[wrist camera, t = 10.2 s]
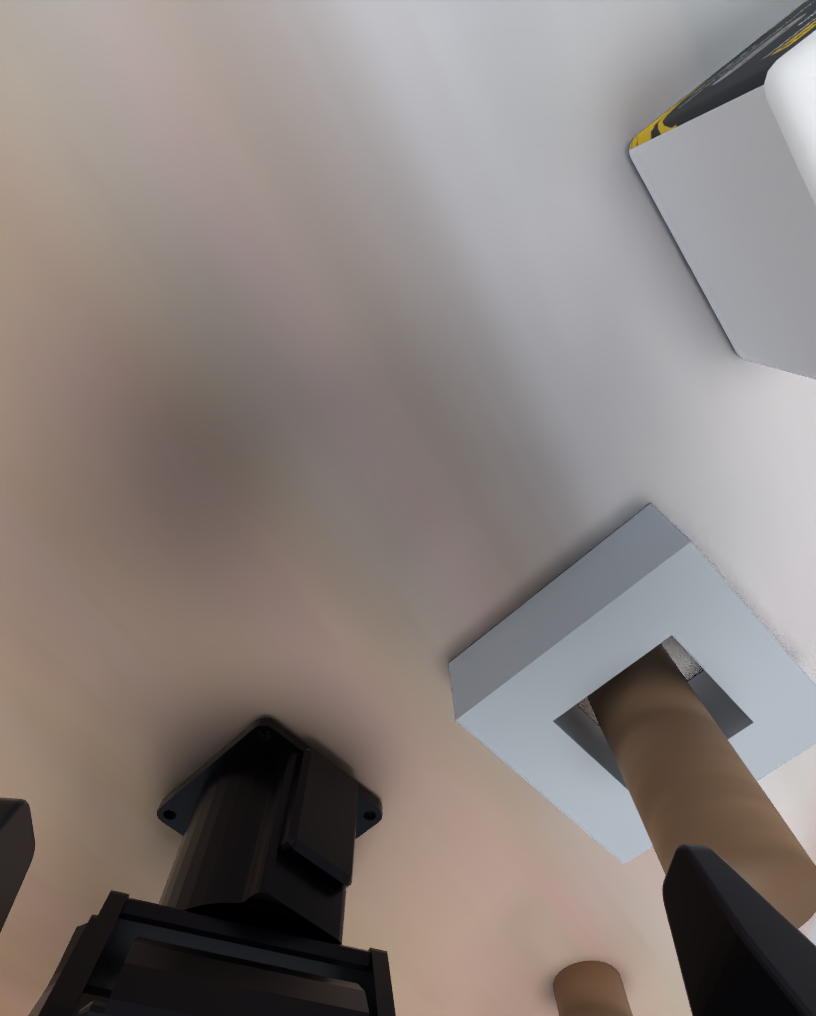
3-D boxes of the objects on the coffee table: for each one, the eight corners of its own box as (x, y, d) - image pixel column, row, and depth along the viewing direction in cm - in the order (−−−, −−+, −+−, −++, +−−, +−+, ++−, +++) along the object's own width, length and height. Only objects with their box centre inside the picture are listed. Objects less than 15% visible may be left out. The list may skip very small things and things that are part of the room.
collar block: (598, 797, 25) (623, 864, 22) (448, 663, 22) (455, 720, 20) (793, 666, 23) (848, 723, 20) (650, 502, 20) (691, 541, 17)
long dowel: (612, 715, 23) (732, 965, 15) (560, 664, 23) (656, 901, 14) (682, 665, 23) (849, 900, 14) (630, 611, 22) (776, 827, 13)
